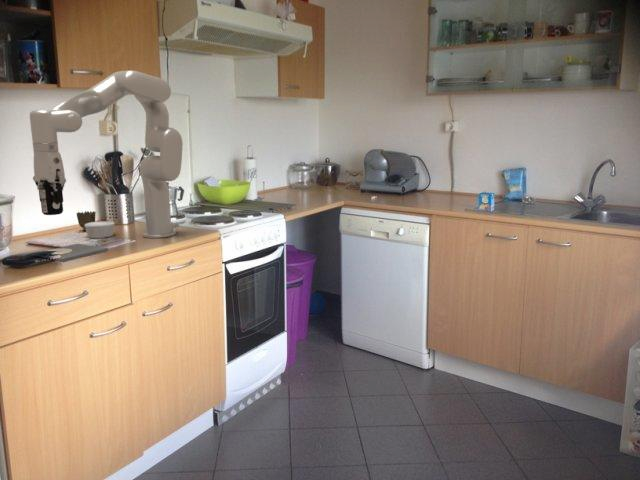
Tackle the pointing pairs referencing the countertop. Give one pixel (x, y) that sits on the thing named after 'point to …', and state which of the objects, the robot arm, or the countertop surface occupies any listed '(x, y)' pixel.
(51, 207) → the beverage can
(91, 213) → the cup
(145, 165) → the robot arm
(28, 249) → the countertop surface
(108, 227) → the ramekin
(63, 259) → the board
